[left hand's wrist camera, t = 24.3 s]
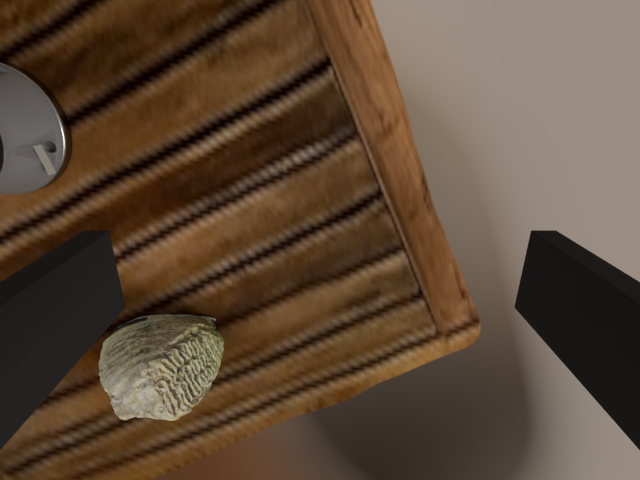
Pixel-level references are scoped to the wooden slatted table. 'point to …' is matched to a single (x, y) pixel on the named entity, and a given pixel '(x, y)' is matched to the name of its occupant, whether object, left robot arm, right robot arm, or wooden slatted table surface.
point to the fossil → (160, 365)
